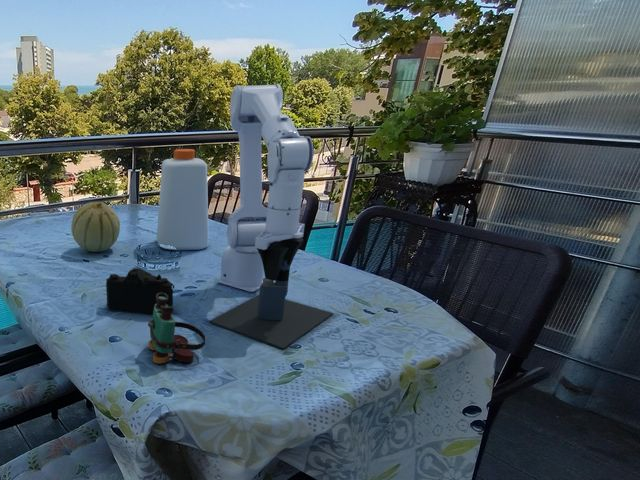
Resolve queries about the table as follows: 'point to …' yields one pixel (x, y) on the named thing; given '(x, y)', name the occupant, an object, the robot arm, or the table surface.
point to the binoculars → (170, 334)
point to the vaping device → (274, 295)
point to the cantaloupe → (95, 227)
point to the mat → (272, 322)
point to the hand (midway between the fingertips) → (276, 276)
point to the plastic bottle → (183, 202)
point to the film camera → (136, 291)
